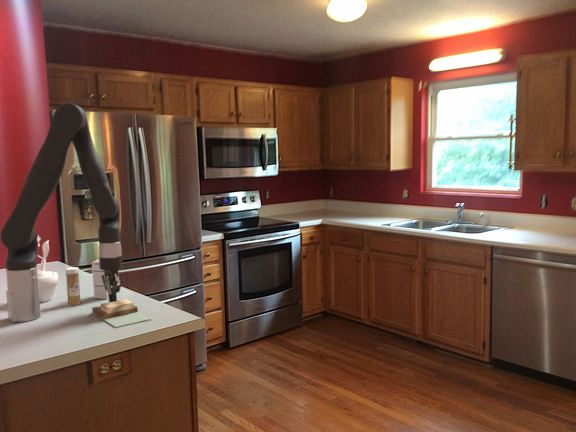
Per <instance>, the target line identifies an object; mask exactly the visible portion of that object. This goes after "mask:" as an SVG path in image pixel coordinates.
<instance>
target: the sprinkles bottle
mask: <svg viewBox="0 0 576 432" xmlns="http://www.w3.org/2000/svg"><path fill="white" fill-rule="evenodd" d="M65 277H66V279H65V280H66V296H67V305H68V306H77V305H80V304H81V303H82V302H81V288H80V287H81V286H80V268H79V267H78V266H77V267H76V266H72V267H66V268H65Z"/></svg>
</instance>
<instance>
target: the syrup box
mask: <svg viewBox="0 0 576 432" xmlns="http://www.w3.org/2000/svg"><path fill="white" fill-rule="evenodd" d="M91 272H92V284H93V296H94V299H97V298H99V299H101V300H109V293H108V292H107V290H105V286H104V283H103V280H102V277H101V276H102V275H104V270H101V269H100V268H99V259H96V260H93V261H91ZM99 299H98V300H99Z"/></svg>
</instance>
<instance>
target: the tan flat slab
mask: <svg viewBox="0 0 576 432" xmlns="http://www.w3.org/2000/svg"><path fill="white" fill-rule="evenodd" d="M138 309H139V308H138V306H136V305H134V308H132V309H128V310H123V311H118V312H114V313H109V314H108V313H106V312H104V311H102V310H101V305H98V306H94V307H92V308H91V311H92V314H93V315H94V314H95V316H96V317H98V318H99V319H101V320H102V319H103V320H102V321H104V319H107V318H112V317H117V316H121V315H126V314H131V313H136V312H139V311H138Z"/></svg>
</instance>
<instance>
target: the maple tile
mask: <svg viewBox="0 0 576 432" xmlns="http://www.w3.org/2000/svg"><path fill="white" fill-rule="evenodd" d="M100 306H101V310H102V311H104V312H106V313H108V314H109V313H114V312H118V311H123V310H128V309H132V308H134V306H135V305H134V302H133V301H131V300H129V299H127V298H124V299H119V300H117V301H114V302H109V301H108V302H104V303H101V304H100Z"/></svg>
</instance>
